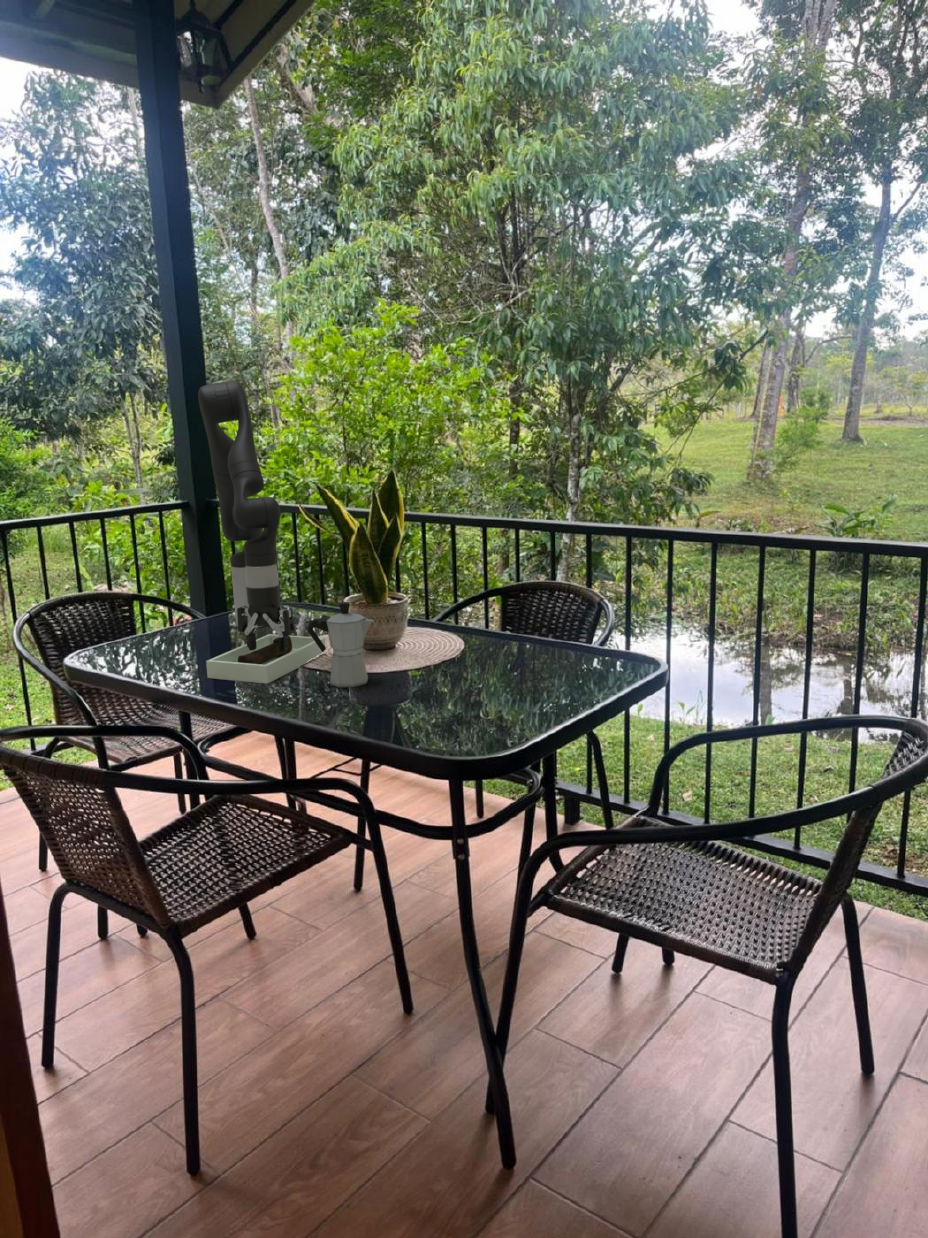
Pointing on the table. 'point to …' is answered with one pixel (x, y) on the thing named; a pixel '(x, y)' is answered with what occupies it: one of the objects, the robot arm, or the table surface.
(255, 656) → the dark brown log
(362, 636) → the coffee maker
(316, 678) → the table surface
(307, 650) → the tray
